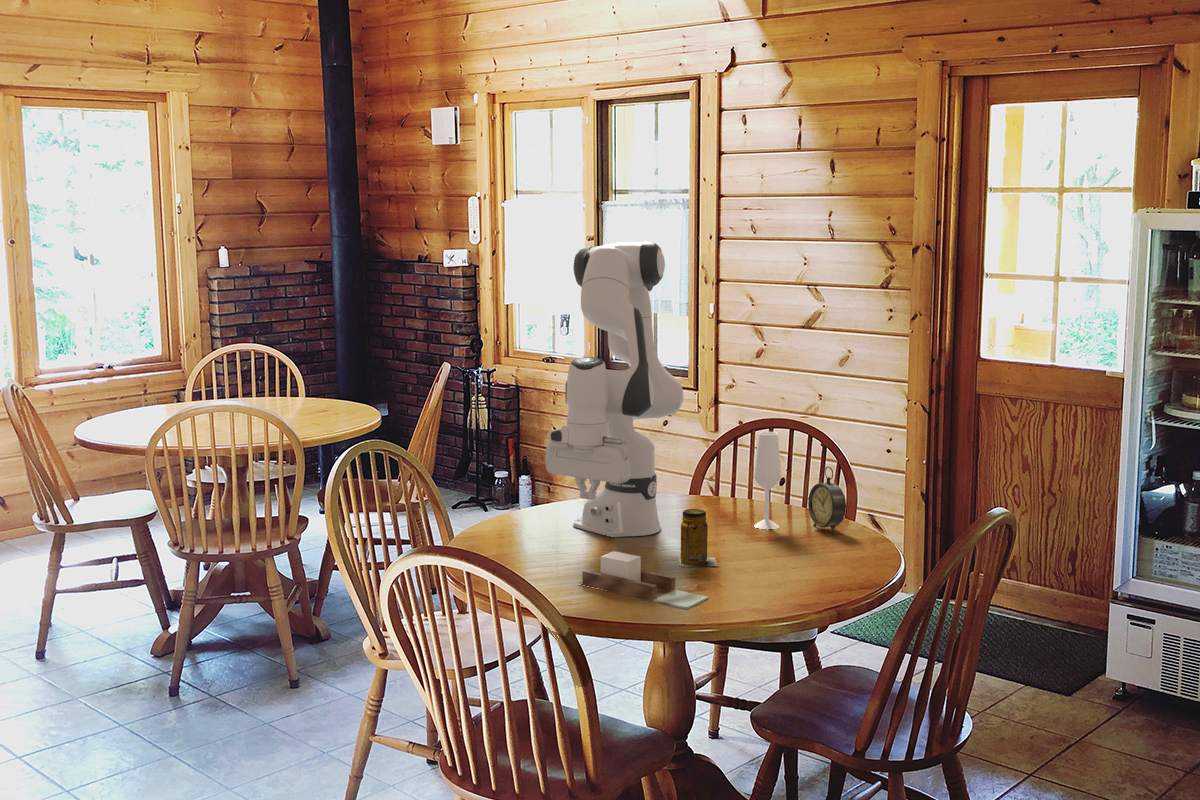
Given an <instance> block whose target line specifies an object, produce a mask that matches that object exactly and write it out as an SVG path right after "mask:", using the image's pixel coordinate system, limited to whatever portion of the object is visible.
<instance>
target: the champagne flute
mask: <svg viewBox="0 0 1200 800" xmlns="http://www.w3.org/2000/svg"><path fill="white" fill-rule="evenodd" d="M779 446H780V444H779V433H778V432H777V431H776V432H775V431H760V432H758V438H757V447H756V454H755V465H754V474H753V478H754V480H755V481H756V483H757V484H758V485H759V486H760V487H761V488H762V489H764V505H763V506H764V507H763V508H764V509H763V511H764V515H763V516H764V517H763V519H762V520H760V521H758V522H756V523H755V524H753V525H754V527H755V528H754V527H753V528H754V529H756V528H759V529H758V530H761V529H767V530H766V531H769V530H768V529H775V530H778V529H780V528H779V527H780V525H779V524H777V523H775V522H774V521H772V520H771V519H770V490H771V489H772V488H774V487H775V486H776V485H777V484H778V483H779V482H780V480H781V477H782V473H781V460H780V458H781V457H780V447H779ZM777 528H778V529H777Z"/></svg>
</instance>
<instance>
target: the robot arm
mask: <svg viewBox="0 0 1200 800" xmlns="http://www.w3.org/2000/svg"><path fill="white" fill-rule="evenodd" d="M665 266H666V261H665V255H664V253H663V251H662V249H661V247H660V246H659V245H658V244H657V243H655V242H651V241H642V242H635V241H634V242H630V241H629V242H624V241H623V242H616V243H609V244H604V245H603V244H602V245H598V246H586V247H583V248H581V249H579V250H578V252H576V253H575V256H574V259H573V274H574V278H575V281H576V283H577V285H578V286H579V287H580V288H581V290H580V308H581V312H582V314H583V316H584V317H585V319H586V320H587V321H588V322H590V324H592V325H593V326H594V327H596V328H598V329H600V330H603V331H605V332H607V344H608V350H609V352H610V353H611V355H612V356H613V357H615V358H617V359H618V360H620V361H622V362H625V363H626V364H627V365H628V366H629V368H627V369H607V368H606V362H605V361H604V360H603V359H601V358H598V357H595V356H584V357H583V356H582V357H579V358H575V359H574V360H573V359H572V360H571V361H570V363H569V367H568V371H567V379H566V383H565V385H564V387H565V388H564V389H565V390H564V391H565V393H564V395H565V403H566V405H567V408H568V412H567V417H566V425H565V426H561V427H560V428H557V429H553V430H550V431H548V432H547V435H546V438H547V441H548V443H547V445H546V450H545V468H546V470H547V472H548V473H549V474H553V475H559V476H565V477H566V476H567V477H572V478H574V479H575V484H576V486H577V488H578V490H579V498H580V499H583V500H584V499H585V500H586V501H585V503H584V506H583V508H582V515H581V517H579V518H577V519H575V520H574V521H573V526H572V527H574V528H577V529H582V530H584V531H588V532H591V533H596V534H599V535H603V536H605V535H606V537H609V536H610V537H611V538H621V537H641V536H648V535H653V534H657V533H658V532H661V530H662V526H661V524H660V521H659V515H658V509H657V499H656V498H657V490H658V489H657V485H658V484H657V483H658V481H657V474H656V446H655V444H654V442H653V440H652V439H651V438H649V436H647V435H645V434H643V433H641V432H639V431H637V430H635V427H634V420H645V419H647V420H648V419H661V418H663V417H664V418H665V417H667V416H672V415H674V414H677V413H678V412H679V411H680V408H681V407H682V405H683V403H684V402H683V401H684V389H683V387H682V385H681V383H680V381H679V380H678V378H677V377H675V376H673V375H672V374H671V373H670V372H669V371H668V370H667V369H666V368H665V367H664V365H663V364H662V363H661V361H660V359H659V357H658V355H657V351H656V349H655V344H654V343H655V341H654V340H655V339H654V333H653V332H654V331H653V317H652V316H653V315H652V314H653V313H652V305H651V297H650V293H649V292H651V291H653V288H654V287H655V286H656V285H658V284H659V283H660V282H661V281H662V278H663V277H664V273H665V269H666V267H665ZM587 480H589V483H588V484H589V485H590V487H589V489H588V487H587V485H586V481H587ZM601 482H605V483H604V487H603V488H602V489H600V490H599V491H598V492H597V490H598V489H599V486H600V484H601ZM610 537H609V538H610Z"/></svg>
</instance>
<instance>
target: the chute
mask: <svg viewBox="0 0 1200 800" xmlns="http://www.w3.org/2000/svg"><path fill="white" fill-rule="evenodd" d="M581 579H582V581H580V582H578V585H579V584H581V585H585V586H589V587H594V588H599V589H603V590H607V591H611V592H610V593H612V592H614V593H613V594H616V593H618V594H617V595H621V594H622V595H621V596H625V595H626V596H627V597H630V598H634V599H638V598H639V600H642V601H643V600H644V601H648V602H653V603H656V604H657V603H658V604H661V605H666V606H670V607H675V608H680V609H684V610H689V609H691V608H693V607H695V606H696V605H699V604H700V603H702V602H704V601H706V600H708V599H709V596H707V595H701V594H697V593H692V592H688V591H687V592H686V591H683V590H678V589H676V576H674V575H673V576H672V575H668V574H664V573H658V572H654V571H649V570H644V569H641V582H639V581H635V580H630V579H625V578H621V577H616V576H611V575H607V574H602V573H601V572H597V571H596V572H595V571H592V570H587V569H585V570H583V571H582V578H581ZM585 586H584V587H585ZM589 587H588V588H589ZM594 588H593V589H594ZM603 590H602V591H603ZM607 591H606V592H607Z"/></svg>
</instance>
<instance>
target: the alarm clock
mask: <svg viewBox="0 0 1200 800" xmlns="http://www.w3.org/2000/svg"><path fill="white" fill-rule="evenodd" d="M827 469H829V470H830V471H831V477H829V476H827V474H826V473H827ZM823 471H824V472H823V473H824V476H825V477H826V482H822V483H821V482H817V483H816V484H815V485H813V486H812V488H811V490H810V492H809V494H808V499H807V501H808V503H807V505H808V507H807V508H808V512H809V515H810V518H811V520H812V521H813V527H814V526H815V527H819V528H830V529H831V532H832V534H833V535H836V531H835V529H837V528H836V527H837V526H839V525H840V524H842V522H843V521H844V519H845V516H846V512H847V501H846V497H845V493H844V491H843V489H841V487H840V486H839V485H837V484H836V483H833V482H831V480H833V477H834V470H833V468H832V467H831V466H826V467H825V469H824V470H823Z"/></svg>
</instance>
